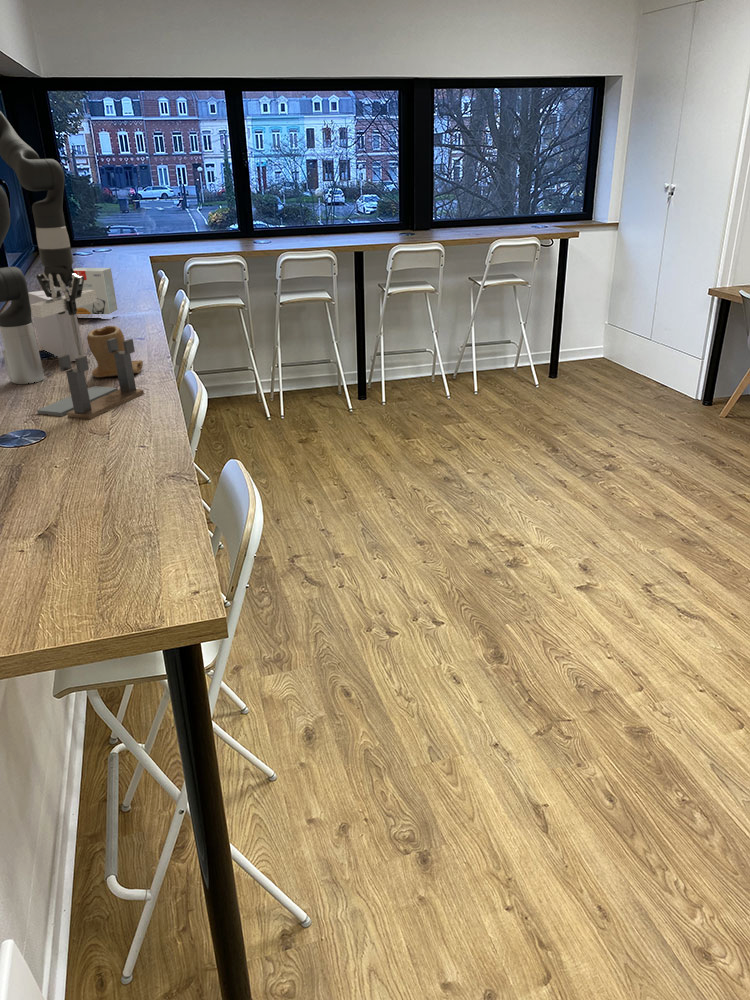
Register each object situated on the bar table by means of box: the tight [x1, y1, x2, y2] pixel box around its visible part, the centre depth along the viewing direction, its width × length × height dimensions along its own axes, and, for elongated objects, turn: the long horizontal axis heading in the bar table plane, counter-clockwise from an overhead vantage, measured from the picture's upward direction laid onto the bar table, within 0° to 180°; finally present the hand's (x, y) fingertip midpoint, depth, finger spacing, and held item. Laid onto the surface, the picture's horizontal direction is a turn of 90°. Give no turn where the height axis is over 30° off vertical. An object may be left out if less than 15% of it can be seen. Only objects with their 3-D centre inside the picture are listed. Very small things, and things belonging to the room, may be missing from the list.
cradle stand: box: [57, 338, 145, 420], centre depth 201 cm, size 7×23×16 cm, turn 160°
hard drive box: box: [72, 267, 119, 315], centre depth 312 cm, size 16×8×20 cm, turn 81°
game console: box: [28, 290, 86, 361], centre depth 254 cm, size 6×27×20 cm, turn 41°
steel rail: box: [30, 290, 97, 318], centre depth 196 cm, size 3×21×3 cm, turn 160°
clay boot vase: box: [86, 325, 144, 378], centre depth 229 cm, size 15×12×15 cm
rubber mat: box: [36, 385, 118, 417], centre depth 207 cm, size 8×23×1 cm, turn 160°
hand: (67, 314), depth 197 cm, fingers closed on steel rail, 3 cm apart
